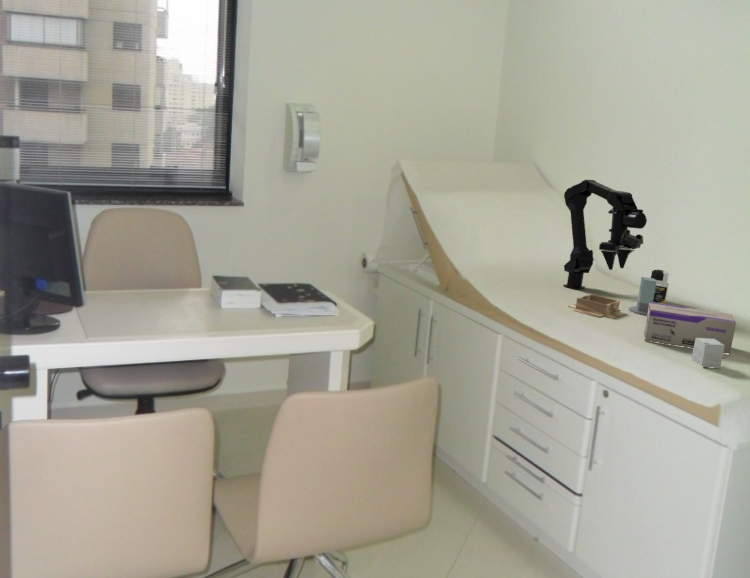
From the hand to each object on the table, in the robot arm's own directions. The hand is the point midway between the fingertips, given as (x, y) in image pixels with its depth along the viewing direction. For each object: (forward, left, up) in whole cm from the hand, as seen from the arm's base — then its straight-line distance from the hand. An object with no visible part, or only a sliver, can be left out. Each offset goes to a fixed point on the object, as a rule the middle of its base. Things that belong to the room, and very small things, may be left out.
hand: (616, 269), depth 304 cm
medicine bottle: (-18, +10, -13) cm, 24 cm away
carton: (+18, +3, -12) cm, 22 cm away
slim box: (+3, +14, -12) cm, 18 cm away
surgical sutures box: (+30, +39, -13) cm, 51 cm away
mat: (+3, +14, -12) cm, 19 cm away
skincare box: (+47, +51, -13) cm, 70 cm away
